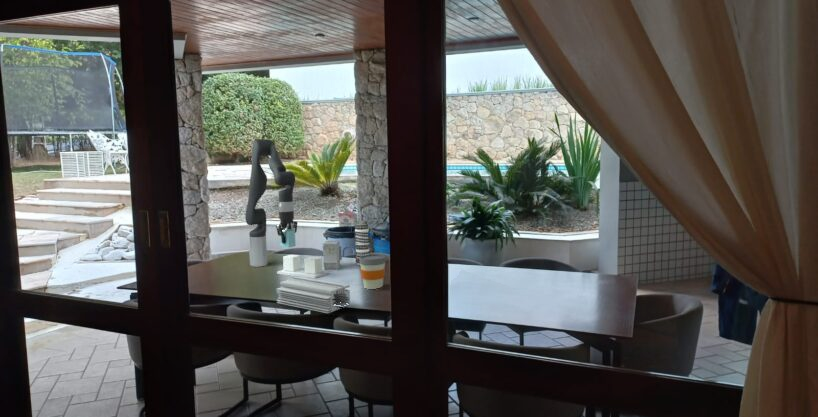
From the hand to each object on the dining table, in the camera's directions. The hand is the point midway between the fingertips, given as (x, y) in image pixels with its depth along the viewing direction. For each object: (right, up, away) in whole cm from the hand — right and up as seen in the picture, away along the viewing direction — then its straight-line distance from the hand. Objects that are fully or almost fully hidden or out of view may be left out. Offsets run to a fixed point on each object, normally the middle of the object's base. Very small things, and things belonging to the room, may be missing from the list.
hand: (287, 242), depth 294 cm
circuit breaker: (+21, -16, +24) cm, 35 cm away
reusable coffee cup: (+46, -21, -21) cm, 55 cm away
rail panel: (+6, -18, +11) cm, 22 cm away
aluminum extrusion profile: (+21, -25, -47) cm, 57 cm away
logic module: (0, -2, 0) cm, 2 cm away
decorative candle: (+37, -15, +32) cm, 51 cm away
